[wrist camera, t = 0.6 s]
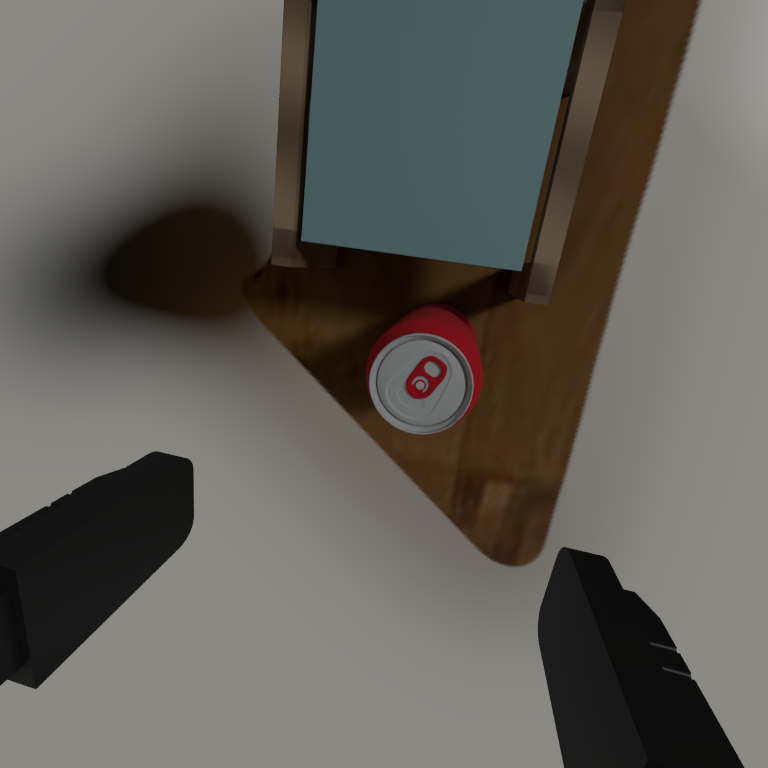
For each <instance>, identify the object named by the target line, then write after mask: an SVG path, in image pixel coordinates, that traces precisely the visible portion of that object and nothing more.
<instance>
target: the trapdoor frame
mask: <svg viewBox="0 0 768 768" xmlns="http://www.w3.org/2000/svg"><path fill="white" fill-rule="evenodd" d="M625 1H626V0H587V2H586V4H585V5H583V6H582V9H581V13H580V18H579V22H578V26H577V31H576V35H575V40H574V44H573V48H572V53H571V57H570V61H569V66H568V70H567V75H566V79H565V83H564V88H563V92H562V94H570V97H569V101H568V106H567V110H566V114H565V118H564V123H563V127H562V131H561V135H560V140H559V144H558V148H557V153H556V157H555V161H554V165H553V170H552V174H551V178H550V182H549V187H548V191H547V195H546V200H545V204H544V208H543V212H542V217H541V221H540V225H539V229H538V234H537V238H536V242H535V247H534V251H533V255H532V259H531V263H525V264H523V267H522V271H514V270H512V275H511V279H510V284H509V288H508V294H510V295H512V296H514V297H516V298H518V299H519V300H521V301H523V302H527V303H534V304H540V305H547V306H548V304H549V300H550V296H551V292H552V288H553V284H554V280H555V276H556V273H557V269H558V265H559V261H560V257H561V253H562V249H563V245H564V241H565V237H566V233H567V229H568V225H569V221H570V217H571V214H572V210H573V206H574V202H575V198H576V194H577V190H578V186H579V182H580V178H581V174H582V170H583V166H584V162H585V159H586V155H587V151H588V147H589V143H590V139H591V135H592V131H593V127H594V123H595V119H596V115H597V111H598V107H599V103H600V100H601V96H602V92H603V88H604V84H605V80H606V76H607V72H608V68H609V64H610V60H611V56H612V52H613V48H614V44H615V41H616V37H617V33H618V29H619V25H620V21H621V17H622V13H623V9H624V5H625ZM317 4H318V0H284V14H283V35H282V55H281V77H280V78H281V79H280V97H279V119H278V138H277V159H276V179H275V200H274V221H273V222H274V223H273V241H272V262H271V264H273V265H279V266H286V267H308V268H336V261H337V250H338V246H334V245H327V244H319V243H312V242H306V241H301V237H302V232H300V229H301V214H302V199H303V184H304V170H305V155H306V140H307V125H308V110H309V96H310V81H311V66H312V51H313V40H314V42H315V33H316V19H317Z"/></svg>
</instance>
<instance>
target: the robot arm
mask: <svg viewBox="0 0 768 768" xmlns="http://www.w3.org/2000/svg"><path fill="white" fill-rule="evenodd" d="M193 483H194V479H193V464H192V462H191V461H190V460H189V459H187V458H183V457H179V456H174V455H170V454H166V453H161V452H152V453H150V454H148V455H146V456H144V457H143V458H141V459H139V460H137V461H136V462H134V463H132V464H131V465H129V466H127V467H126V468H123V469H120V470H117V471H114V472H111V473H108V474H105V475H102V476H99V477H96V478H95V479H93V480H91V481H89V482H87V483H86V484H84V485H82V486H81V487H79V488H77V489H75V490H73V491H72V493H71V495H69V494H66V495H65V496H63V497H61V498H59V499H58V500H56V501H54V502H53V503H51V506H50V507H47V506H45V507H43V508H42V509H40V510H38V511H36V512H35V513H33V514H31V515H29V516H28V517H26V518H24V519H22V520H21V521H19V522H17V523H15V524H14V525H12V526H10V527H9V528H7V529H5V530H3V531H1V532H0V685H1V684H3V683H4V682H5V681H6V680H11V681H13V682H16V683H19V684H22V685H25V686H28V687H31V688H34V689H36V688H38V687H39V686H40V685H41V684H42V683H43V682H44V681H45V680H46V679H47V678H48V677H49V676H50V675H51V674H52V673H53V672H54V671H55V670H56V669H57V668H58V667H59V666H60V665H61V664H62V663H63V662H64V661H65V660H66V659H67V658H68V657H69V656H70V655H71V654H72V653H73V652H74V651H75V650H76V649H77V648H78V647H79V646H80V645H81V644H82V643H83V642H84V641H85V640H86V639H87V638H88V637H89V636H90V635H91V634H92V633H94V631H96V630H97V629H98V628H99V627H100V626H101V625H102V623H104V622H105V621H106V620H107V619H108V618H109V617H110V616H111V615H112V614H113V613H114V612H115V611H116V610H117V609H118V608H119V607H120V606H121V605H122V604H123V603H124V602H125V601H126V600H127V599H128V598H129V597H130V596H131V595H132V594H133V593H134V592H135V591H136V590H137V589H138V588H139V587H140V586H141V585H142V584H143V583H144V582H145V581H146V580H147V579H148V578H149V577H150V576H151V575H152V574H153V573H154V572H156V570H157V569H159V567H161V566H162V565H163V564H164V563H165V562H166V561H167V560H168V558H170V557H171V556H172V555H173V554H174V553H175V552H176V551H177V550H178V549H179V548H180V547H181V546H182V544H183V543H184V542H185V540H186V539H187V537H188V535H189V533H190V531H191V528H192V525H193V519H194V484H193ZM538 639H539V646H540V651H541V656H542V661H543V665H544V670H545V675H546V680H547V685H548V690H549V695H550V700H551V705H552V710H553V715H554V720H555V724H556V729H557V734H558V739H559V744H560V749H561V754H562V759H563V763H564V768H744V766H743V764H742V763H741V761H740V759H739V758H738V755H737V754H736V752H735V750H734V748H733V747H732V745H731V743H730V741H729V740H728V738H727V736H726V734H725V732H724V731H723V729H722V727H721V725H720V724H719V722H718V720H717V718H716V716H715V715H714V713H713V711H712V709H711V708H710V706H709V704H708V702H707V701H706V699H705V697H704V695H703V693H702V692H701V690H700V688H699V686H698V685H697V683H696V681H695V680H692V679H691V672H690V670H689V669H688V667H687V665H686V663H685V662H684V660H683V658H682V656H681V654H679V653H677V651H676V648H677V647H676V646H675V644H674V642H673V640H672V639H671V637H670V635H669V633H668V631H667V630H666V628H665V626H664V624H663V623H662V621H661V619H660V618H659V617H658V616H657V615H656V614H655V613H654V612H653V611H652V609H650V607H649V606H648V605H647V604H646V603H645V602H644V601H643V600H642V599H641V598H640V597H639V596H638V595H637V594H636V593H635V592H632V591H628V590H624V589H623V588H622V586H621V584H620V582H619V580H618V578H617V576H616V574H615V572H614V570H613V568H612V566H611V564H610V562H609V560H608V559H607V558H606V557H604V556H600V555H596V554H592V553H588V552H583V551H579V550H574V549H570V548H566V547H563V548H562V549H561V550H560V551H559V553H558V555H557V558H556V561H555V564H554V567H553V570H552V573H551V576H550V580H549V583H548V586H547V589H546V592H545V595H544V598H543V601H542V604H541V607H540V612H539V619H538Z"/></svg>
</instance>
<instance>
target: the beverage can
mask: <svg viewBox="0 0 768 768" xmlns="http://www.w3.org/2000/svg"><path fill="white" fill-rule="evenodd" d="M366 382H367V388H368V391H369V394H370V397H371V399H372V401H373V404H374V405H375V407H376V409H377V411H378V412H379V413H380V415H381V416H382V417H383V418H384V419H385V420H386V421H387V422H389V423H390V424H391V425H393V426H394V427H396V428H398V429H400V430H403V431H405V432H409V433H413V434H432V433H437V432H440V431H443V430H445V429H447V428H449V427H451V426H453V425H455V424H456V423H458V422H460V421H461V420H462V419H463V418H465V417H466V416H467V414H468V413H469V412H470V411H471V410H472V408H473V407H474V405H475V404H476V402H477V400H478V398H479V395H480V393H481V389H482V383H483V369H482V363H481V359H480V354H479V349H478V345H477V340H476V335H475V332H474V329H473V327H472V325H471V323H470V321H469V320H468V319H467V317H466V316H465V315H464V314H463V313H461V312H460V311H459V310H457V309H455V308H454V307H451V306H449V305H445V304H440V303H430V304H425V305H421V306H419V307H417V308H415V309H413V310H411V311H410V312H409V313H408V314H406V315H405V316H404V317H403V318H402V319H401V320H399V321H398V322H397V323H396V324H395V325H393V326H392V327H391V328H390V329H389V330H388V331H386V332H385V333H384V334H383V335H382V336H381V337H380V338H379V339H378V340H377V342H376V343H375V345H374V346H373V348H372V350H371V352H370V355H369V358H368V361H367V367H366Z"/></svg>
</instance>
